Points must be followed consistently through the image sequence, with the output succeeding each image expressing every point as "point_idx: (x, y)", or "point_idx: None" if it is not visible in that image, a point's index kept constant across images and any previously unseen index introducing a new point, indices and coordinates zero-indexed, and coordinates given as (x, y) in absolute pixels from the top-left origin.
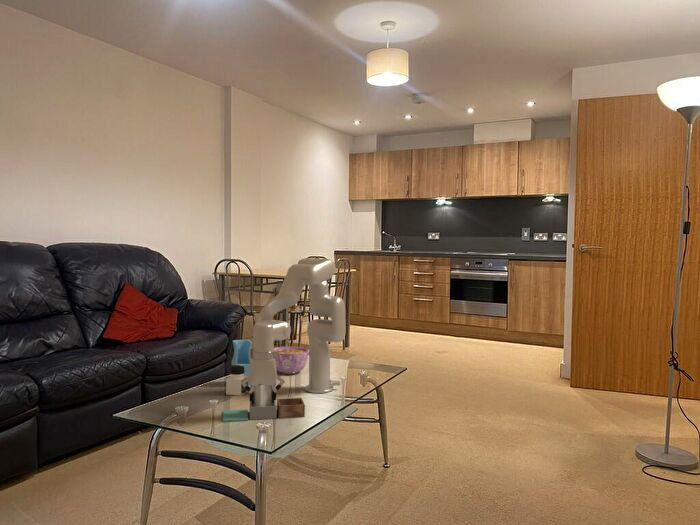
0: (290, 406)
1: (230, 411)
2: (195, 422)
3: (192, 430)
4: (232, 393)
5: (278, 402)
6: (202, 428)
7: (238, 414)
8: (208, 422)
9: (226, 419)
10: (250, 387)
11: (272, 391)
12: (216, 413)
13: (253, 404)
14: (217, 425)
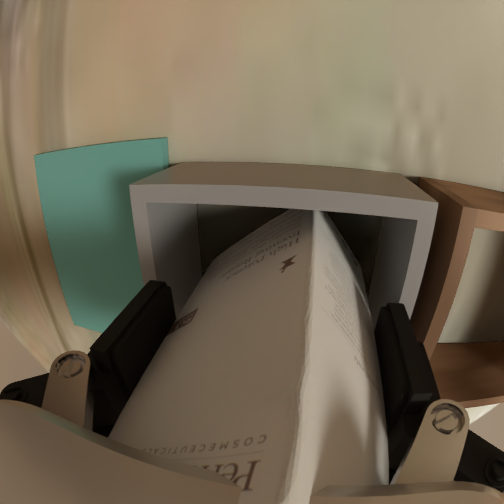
0: (463, 403)
1: (64, 181)
2: (6, 285)
3: (34, 355)
4: None
5: (428, 339)
6: (48, 352)
7: (116, 255)
8: (36, 301)
9: (83, 318)
10: (54, 406)
11: (398, 412)
12: (21, 177)
13: (183, 311)
14: (76, 347)
